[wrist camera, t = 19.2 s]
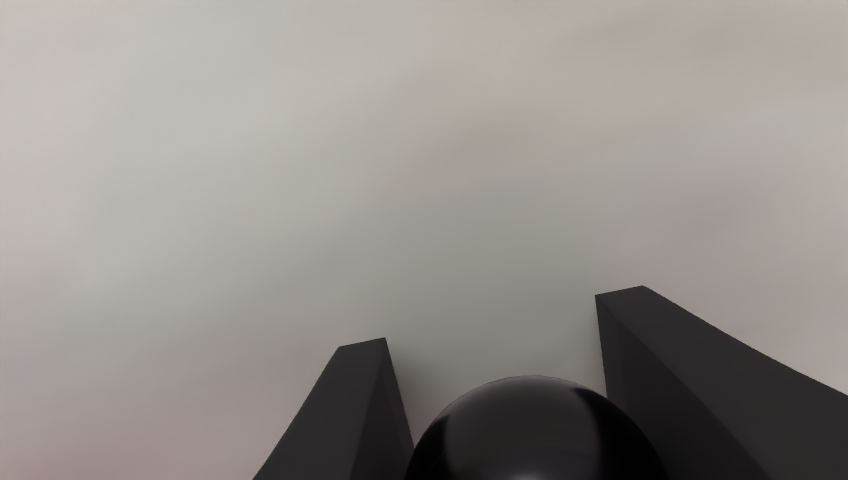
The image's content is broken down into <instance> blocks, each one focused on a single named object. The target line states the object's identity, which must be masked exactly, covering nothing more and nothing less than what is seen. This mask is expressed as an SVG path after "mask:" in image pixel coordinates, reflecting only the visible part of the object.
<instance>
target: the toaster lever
mask: <svg viewBox="0 0 848 480" xmlns="http://www.w3.org/2000/svg"><path fill="white" fill-rule="evenodd" d="M404 480H668V476H667V474H666V471H665V469H664V467H663V464H662V462H661V460H660V458H659V456H658V454H657V452H656V451H655V449H654V447H653V446H652V444H651V442H650V441H649V440H648V438H647V437H646V435H645V434H644V433H643V432H642V430H641V429H640V428H639V427H638V425H637V424H636V423H635V422H634V421H633V420H632V419H631V418H630V417H629V416H628V415H627V414H626V413H625V412H624V411H623V410H621V409H620V408H619V407H618V406H616V405H615V404H614V403H612V402H611V401H610V400H608V399H607V398H605V397H603V396H602V395H600V394H598V393H596V392H595V391H593V390H591V389H589V388H587V387H584V386H582V385H579V384H577V383H574V382H571V381H567V380H563V379H560V378H554V377H547V376H517V377H509V378H504V379H500V380H497V381H493V382H489V383H487V384H484V385H482V386H480V387H477V388H475V389H473V390H471V391H469V392H468V393H466V394H464V395H462V396H461V397H459V398H458V399H456V400H455V401H454V402H453V403H451V404H450V405H449V406H447V407H446V408H445V409H444V410H443V411H442V412H441V413H440V414H439V415H438V416H437V417H436V418H435V419H434V420H433V421H432V423H431V424H430V425H429V427H428V428H427V429H426V431H425V432H424V433H423V435H422V437H421V439H420V440H419V442H418V444H417V446H416V447H415V450H414V452H413V454H412V457H411V459H410V462H409V464H408V467H407V469H406V473H405V477H404Z"/></svg>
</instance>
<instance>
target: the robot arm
mask: <svg viewBox="0 0 848 480" xmlns="http://www.w3.org/2000/svg"><path fill="white" fill-rule="evenodd" d="M595 300H596V308H597V316H598V325H599V333H600V341H601V349H602V358H603V366H604V374H605V382H606V391H607V399H608V400H610V401H611V402H612V403H614V404H615V405H616V406H618V407H619V408H620V409H621V410H623V411H624V412H625V413H626V414H627V415H628V416H629V417H630V418H631V419H632V420H633V421H634V422H635V423H636V424H637V425H638V427H639V428H640V429H641V430H642V432H643V433H644V434H645V435H646V437H647V438H648V440H649V441H650V442H651V444H652V446H653V447H654V449H655V451H656V452H657V454H658V456H659V458H660V460H661V462H662V464H663V467H664V469H665V471H666V474H667V476H668V480H848V395H846V394H844V393H842V392H839V391H837V390H835V389H833V388H831V387H829V386H827V385H825V384H823V383H820V382H818V381H816V380H814V379H812V378H810V377H808V376H806V375H804V374H801V373H799V372H797V371H795V370H793V369H791V368H790V367H788V366H786V365H784V364H782V363H780V362H778V361H776V360H774V359H772V358H770V357H768V356H766V355H764V354H763V353H761V352H759V351H757V350H755V349H753V348H751V347H750V346H748V345H746V344H744V343H742V342H740V341H739V340H737V339H735V338H733V337H731V336H730V335H728V334H726V333H724V332H723V331H721V330H719V329H717V328H716V327H714V326H712V325H710V324H709V323H707V322H705V321H704V320H702V319H700V318H698V317H697V316H695V315H693V314H692V313H690V312H688V311H687V310H685V309H683V308H681V307H680V306H678V305H676V304H675V303H673V302H671V301H670V300H668V299H666V298H665V297H663V296H661V295H659V294H658V293H656V292H654V291H652V290H651V289H649V288H647V287H645V286H638V287H633V288H628V289H623V290H618V291H613V292H608V293H603V294H598V295H595ZM414 450H415V449H414V445H413V441H412V437H411V434H410V430H409V426H408V422H407V418H406V414H405V411H404V407H403V403H402V399H401V395H400V391H399V388H398V384H397V380H396V376H395V372H394V368H393V365H392V361H391V357H390V353H389V349H388V346H387V342H386V338H380V339H375V340H370V341H365V342H360V343H355V344H350V345H345V346H340V347H338V349H337V350H336V352H335V353H334V355H333V356H332V358H331V359H330V361H329V362H328V364H327V366H326V367H325V369H324V371H323V372H322V374H321V376H320V377H319V379H318V381H317V382H316V384H315V386H314V387H313V389H312V391H311V392H310V394H309V395H308V397H307V399H306V400H305V402H304V404H303V405H302V407H301V408H300V410H299V412H298V413H297V415H296V416H295V418H294V419H293V421H292V423H291V424H290V426H289V427H288V429H287V430H286V432H285V433H284V435H283V436H282V438H281V439H280V441H279V442H278V444H277V445H276V447H275V448H274V450H273V451H272V453H271V454H270V456H269V457H268V459H267V460H266V462H265V463H264V465H263V466H262V467H261V469H260V470H259V471H258V473H257V474H256V476H255V477H254V478H253V480H404V477H405V473H406V469H407V467H408V464H409V462H410V459H411V457H412V454H413V452H414Z"/></svg>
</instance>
